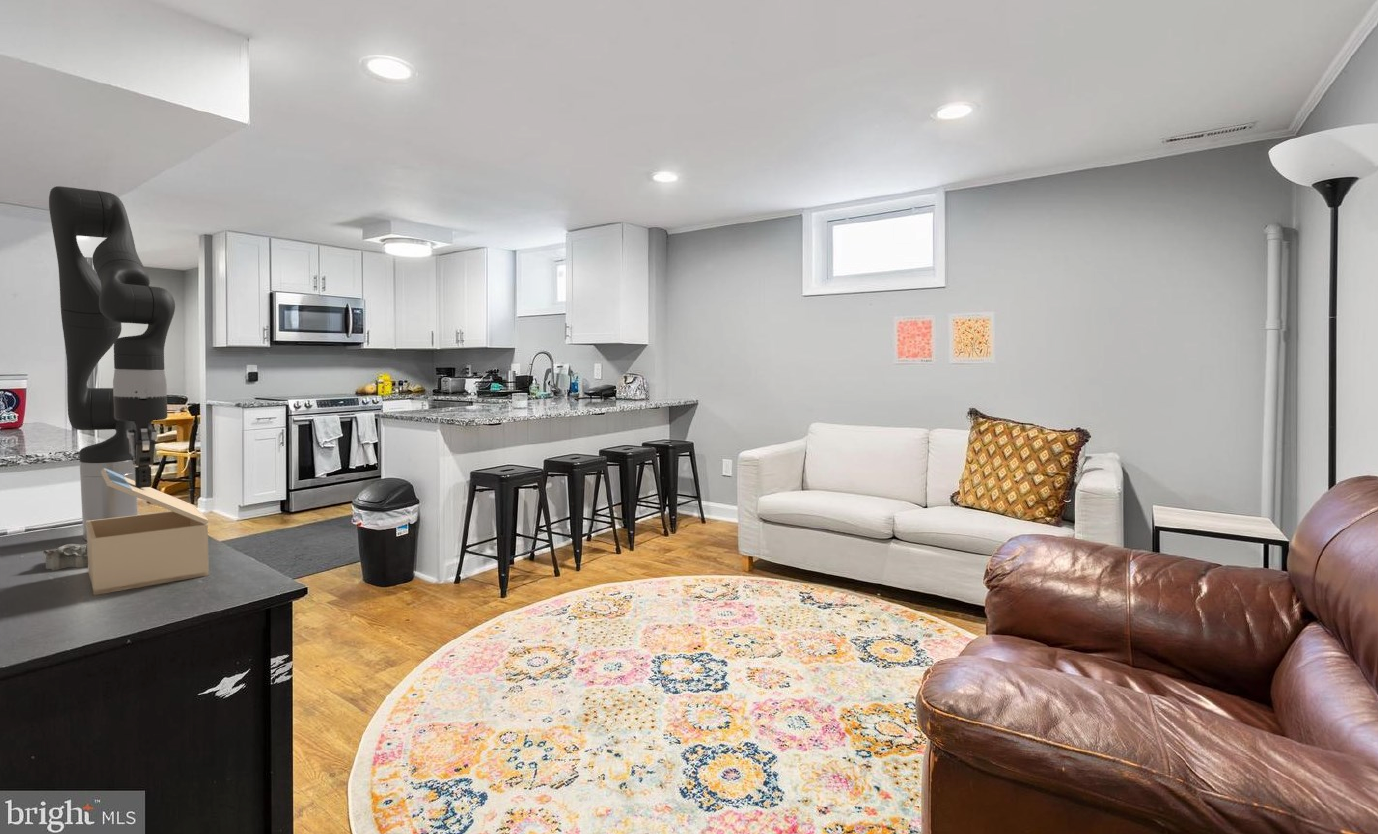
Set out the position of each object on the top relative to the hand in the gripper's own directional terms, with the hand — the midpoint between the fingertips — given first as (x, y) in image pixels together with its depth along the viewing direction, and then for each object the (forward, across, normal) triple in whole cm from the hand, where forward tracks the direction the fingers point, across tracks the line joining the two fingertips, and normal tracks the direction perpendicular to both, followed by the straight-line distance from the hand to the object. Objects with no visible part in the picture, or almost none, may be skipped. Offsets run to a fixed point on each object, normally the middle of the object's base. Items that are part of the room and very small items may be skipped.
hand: (143, 486), depth 119 cm
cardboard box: (+17, 0, 0) cm, 17 cm away
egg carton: (+17, -16, -8) cm, 25 cm away
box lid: (+2, 0, +1) cm, 3 cm away
